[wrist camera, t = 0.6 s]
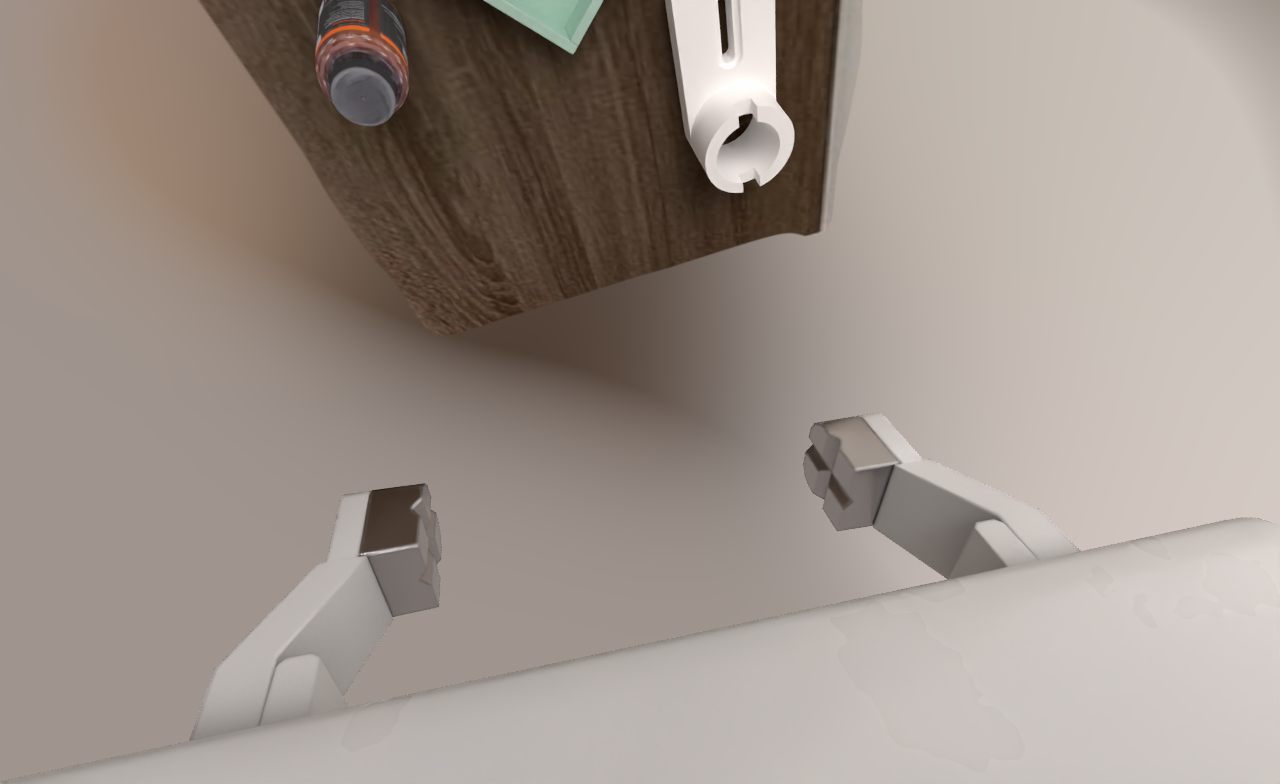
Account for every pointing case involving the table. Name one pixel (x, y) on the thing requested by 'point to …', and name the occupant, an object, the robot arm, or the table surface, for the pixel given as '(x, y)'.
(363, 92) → the supplement bottle
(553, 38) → the organiser
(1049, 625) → the robot arm
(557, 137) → the table surface
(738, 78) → the bracket
